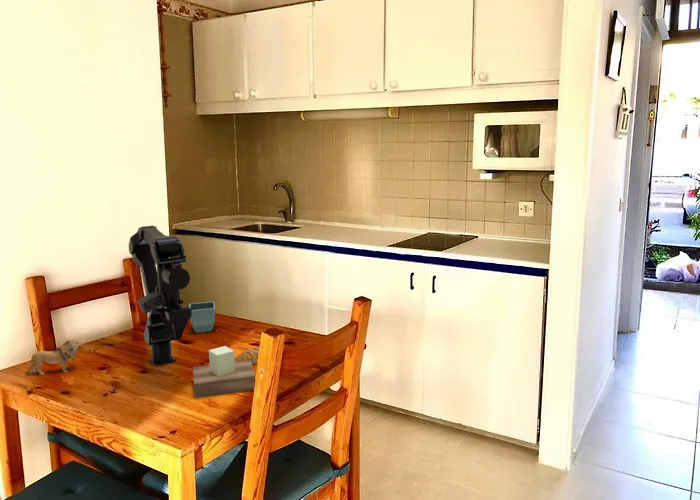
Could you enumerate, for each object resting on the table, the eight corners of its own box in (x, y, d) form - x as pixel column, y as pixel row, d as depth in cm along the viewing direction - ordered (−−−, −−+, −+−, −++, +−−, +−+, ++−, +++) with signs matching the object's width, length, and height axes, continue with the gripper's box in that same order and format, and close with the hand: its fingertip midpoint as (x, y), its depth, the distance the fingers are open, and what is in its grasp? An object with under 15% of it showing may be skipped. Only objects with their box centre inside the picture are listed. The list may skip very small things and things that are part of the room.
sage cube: (210, 370, 161) (208, 350, 160) (226, 366, 164) (225, 345, 163) (218, 376, 157) (217, 355, 156) (235, 371, 160) (234, 350, 159)
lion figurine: (80, 364, 178) (77, 336, 176) (80, 370, 173) (77, 341, 171) (26, 373, 172) (22, 343, 170) (24, 379, 167) (20, 349, 165)
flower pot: (190, 327, 210) (189, 303, 208) (216, 325, 212) (214, 301, 210) (190, 335, 202) (188, 310, 200) (216, 333, 204) (215, 308, 202)
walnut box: (193, 381, 165) (192, 367, 164) (251, 374, 169) (250, 359, 168) (195, 399, 154) (194, 384, 153) (256, 391, 158) (255, 376, 157)
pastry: (241, 370, 171) (240, 358, 171) (227, 365, 176) (226, 353, 175) (266, 361, 178) (265, 349, 177) (252, 356, 183) (251, 344, 182)
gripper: (130, 279, 166) (135, 332, 169) (148, 293, 151) (153, 351, 154) (170, 273, 172) (174, 324, 175) (190, 287, 157) (194, 342, 160)
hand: (173, 335), depth 166 cm, fingers open, 9 cm apart
